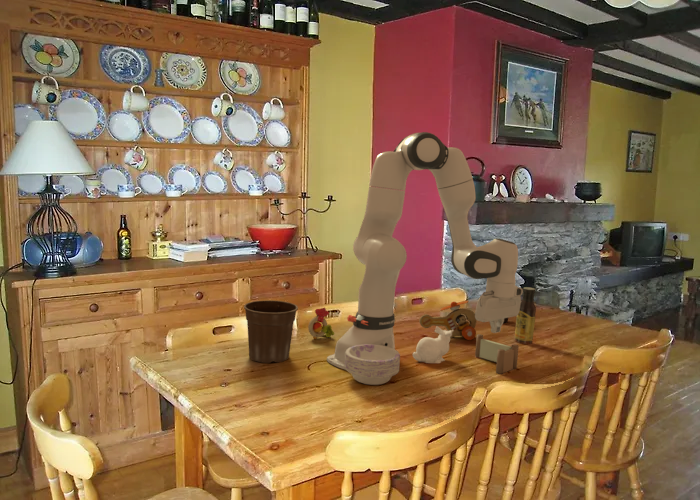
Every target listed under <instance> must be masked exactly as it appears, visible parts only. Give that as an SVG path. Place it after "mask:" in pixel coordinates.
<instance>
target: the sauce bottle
mask: <svg viewBox="0 0 700 500" xmlns="http://www.w3.org/2000/svg"><path fill="white" fill-rule="evenodd" d="M522 289H523V293H522V297H521V304H520V311H519V313H518V315H517V316H516V319H515V329H514V330H515V331H514V342H515V343H517V344H522V345H530V344H532V343H533V340H534V331H535V323H536V312H537V307H536V305H535V303H534V301H535V299H534V297H535V293H536V288H534V287H529V286H528V287H527V286H526V287H523V288H522Z"/></svg>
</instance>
